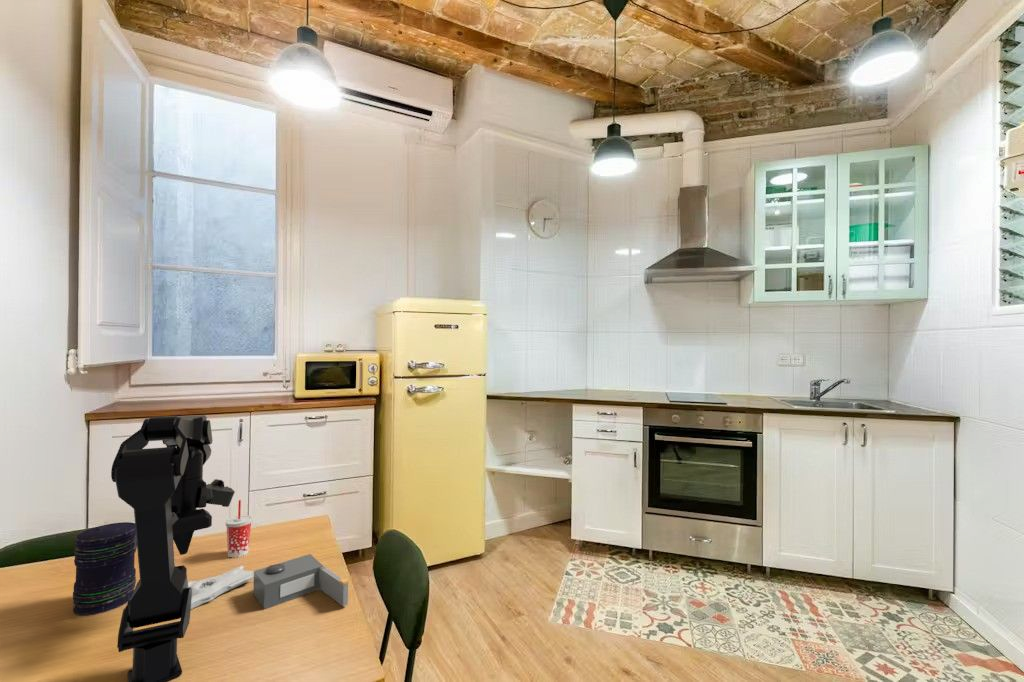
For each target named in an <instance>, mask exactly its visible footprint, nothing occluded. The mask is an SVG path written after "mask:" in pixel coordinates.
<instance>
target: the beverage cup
mask: <svg viewBox="0 0 1024 682" xmlns="http://www.w3.org/2000/svg"><path fill="white" fill-rule="evenodd" d="M241 507H242V500H241V499H239V500H238V515H237V516H233V517H231V518H230V517H229V518H228V519H226V520H225V521H224V522H225V527H226V540H227V557H228V556H229V557H238V558H240V557H239V556H242V557H244V556H246V555H247V553H248V554H249V552H248V551H250V550H249V548H250V539H251V538H250V537H251V530H252V529H251V528H252V522H253V518H254V517H253V516H252V515H249V514H248V515H241ZM245 554H246V555H245ZM243 555H244V556H243ZM229 557H228V558H229Z"/></svg>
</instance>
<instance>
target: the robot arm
mask: <svg viewBox="0 0 1024 682" xmlns="http://www.w3.org/2000/svg"><path fill="white" fill-rule="evenodd" d="M207 418H208V417H207V415H206V414H200V415H199V414H198V415H169V416H168V415H165V416H162V415H161V416H150V417H148V418H145V419H144V420H143V423H141V424H142V425H141V427H140V429H139V430H137V431H136V432H134V433H133V434H132V435H131V436H129V437H127V438H126V439H125V440H123V441H122V442H121V444H120V446H119V448H118V450H117V453H116V455H115V458H114V460H113V462H112V466H111V472H110V473H111V474H110V476H111V477H110V478H111V480H112V482H113V483H115V487H116V491H117V496H118V498H119V499H121V500H122V501H123V502H125V504H127V505H128V506H129V507H131V508H132V509H133V515H134V523H135V528H136V540H137V543H136V546H137V549H136V552H137V563H138V574H139V579H138V581H137V582H136V584H135V588H134V592H133V594H132V597H131V598H130V599H129V601H128V602H127V603H126V606H125V607H124V608H123V609H122V614H121V619H120V624H119V627H118V628H119V629H118V633H117V649H118V653H121V652H122V653H123V652H124V651H127V650H132V669H129V670H128V671H127V675H126V676H127V681H128V682H167V681H170V680H172V679H174V678H177V677H179V676H181V675H182V674H183V669H182V666H181V663H180V659H179V657H178V639H183V638H184V637H185V635H186V633H187V629H188V627H189V625H190V620H191V611H192V609H191V599H192V588H191V587H189V588H188V582H189V581H188V575H187V573H188V569H187V567H186V566H185V565H184V564H182V565H176V564H175V550H174V549H175V548H174V547H175V546H176V549H177V550H178V553H179V555H180V556H183V555H186V554H187V553H188V551H189V547H190V545H191V541H192V539H193V535H194V533H195V531H199V530H204V529H208V528H210V527H212V525H213V522H212V520H213V516H212V514H210V512H209V511H207V510H206V509H204V508H206V507H207V504H208V505H214V506H216V505H217V506H221V507H225V508H228V507H229V506H230V505H231V503H232V501H233V500H232V499H233V497H234V495H235V492H236V491H235V490H234V489H233V488H232V487H229V486H225V481H224V480H222V479H218V478H216V479H213V481H211V482H210V483H207V482H206V481H204V479H203V475H204V474H203V472H204V465H205V464H206V462H207V461H208V460H209V459H210V457H211V455H212V449H211V446H210V445H212V444H213V435H212V425H211V424H212V423H211V420H210V419H207ZM160 441H161V442H162V445H165V446H166V447H165V446H164V447H154V448H153V447H152V448H150V447H149V448H145V447H147V445H148V444H149V442H160ZM174 544H175V546H174ZM176 620H178V621H176ZM171 621H174V622H171ZM165 622H169V623H165ZM160 623H163V624H160ZM156 624H159V625H156ZM151 625H153V626H151ZM154 625H155V626H154ZM147 626H150V627H147ZM140 627H141V628H140ZM142 627H146V628H142ZM134 629H135V630H134Z"/></svg>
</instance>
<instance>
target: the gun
mask: <svg viewBox="0 0 1024 682" xmlns="http://www.w3.org/2000/svg"><path fill="white" fill-rule="evenodd" d="M252 580H254V571H250V570H245V569H244V566H243V565H240V566H238V567H235V568H233V569H231V570H228V571H226V572H224V573H222V574H219V575H217V576H213V577H212V576H211V577H207V578H203V579H200V580H194V581H193V580H191V581H188V588H189V587H191V588H192V599H191V610H194V609H195V608H197V607H199V606H202V605H205V604H206V603H208V602H211V601H214V600H215V599H216V598H218V597H219V596H220V595H222V594H224V593H227V592H228V591H231V590H233V589H235V588H237V587H239V586H241V585H243V584H246V583H247V582H249V581H252Z"/></svg>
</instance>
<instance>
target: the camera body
mask: <svg viewBox="0 0 1024 682" xmlns="http://www.w3.org/2000/svg"><path fill="white" fill-rule="evenodd" d="M323 566H324V565H323V564H322V563H321V562H320V561H319V560H317V558H316V557H314V556H313V555H312V554H310V553H308V554H306V555H302V556H298V557H296V558H292V559H289V560H286V561H285V560H284V561H282V562H280V563H276V564H275V563H274V564H271V565H269V566H265V567H263V568H259V569H256V570H253V572H254V578H253V595H254V597H255V598H256V600H257V601H258V603H259V604H260V606H262V608H263V609H264V610H267V609H269V608H272V607H274V606H277V605H280V604H283V603H285V602H288V601H291V600H293V599H296V598H299V597H302V596H305V595H307V594H311V593H313V592H315V591H319V590H320V589H319V571H320V567H323Z"/></svg>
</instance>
